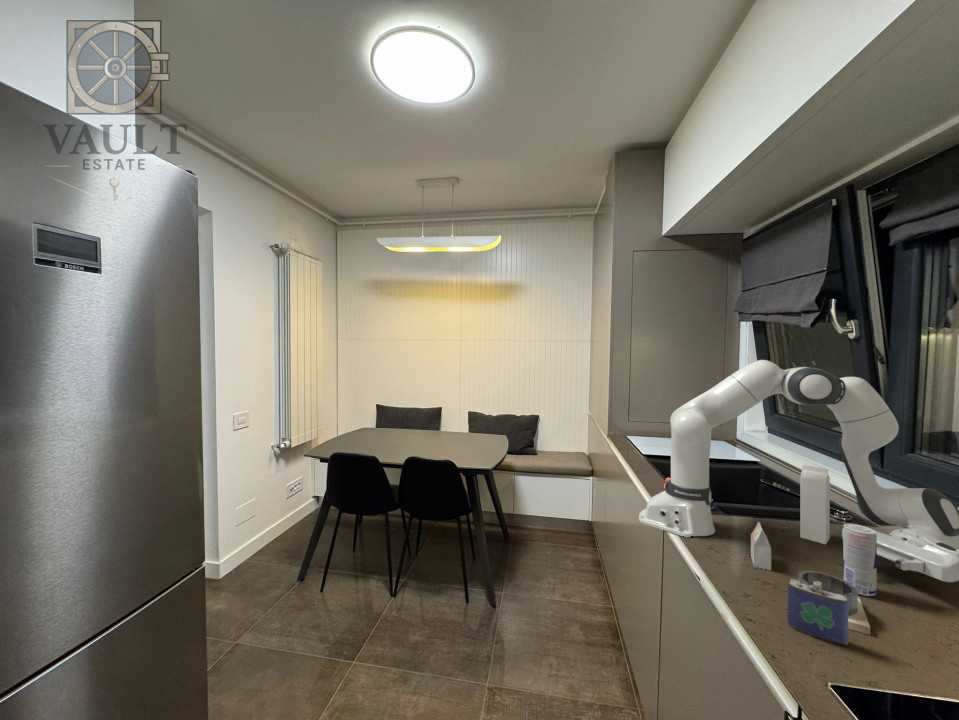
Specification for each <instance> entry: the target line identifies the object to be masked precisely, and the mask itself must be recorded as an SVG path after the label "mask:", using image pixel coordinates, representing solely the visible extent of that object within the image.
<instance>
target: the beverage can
mask: <svg viewBox="0 0 959 720" xmlns="http://www.w3.org/2000/svg"><path fill="white" fill-rule="evenodd" d="M842 530H843V538H842V542H843V543H842V544H843V545H842V546H843V548H842V549H843V550H842V554H843V557H842V559H843V560H842V564H843V565H842V567H843V568H842V569H843V570H842V573H843V574H842V577H843V578H842V580H844V581H846V582H848V583H849V584H851V585H852V586H853V587H855V588H856V591H857V593H858V595H861V596H866V597H873V596H876V595H877V557H878V555H877V537H876V531H877V530H876V531H874V530H875V529H873V528H871V527H868V526H864V525H862V524H861V525H860V524H856V523H844V524H843V528H842Z"/></svg>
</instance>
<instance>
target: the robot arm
mask: <svg viewBox="0 0 959 720" xmlns="http://www.w3.org/2000/svg"><path fill="white" fill-rule="evenodd" d="M773 395H779V396H780V397H782V398H783V399H786V400H788V401H790V402H792V403H793V404H798V405H804V406H811V407H813V406H827V408H829V410H831V412H832V413H833V415H834V417H835V419H836V420H837V422H838V424H839V425H840V428H841V432H842V435H841V437H840V438H839V440H838V448H839V452H840V455H841V458H842V460H843V464H844V466H845V468H846V471H847V473H848V476H849V478H850V479H849V480H850V481H851V484H852V486H853V489H854V492H855V495H856V502H857V505H858V509H859V511H860V512H861V513H862V515H863V516H865V517H864V518H867V520H869V521H870V522H872V523H874V524H875V525H876V526H880V527H891V526H892V527H899V526H900V527H901V526H902V527H907V528H899V529H895V530H892V531H890V533H888V534H887V533H885V532H882V531H878V530H876V529H873V530H874V531H876V537H877V556H879V557H882V558H885V559H887V560H889V561H892V562H893V563H895V565H894V567H896V568H898V569H900V570H903V571H914V572H919V573H921V574H924V575H927V576H929V577H931V578H934V579H935V580H939V581H941V582H945V583H955V582H958V581H959V509H958V506H957V505H956V504H955V503H954V502H953V501H952V500H951V499H949V498H948V496H946V495H944V493H942V492H940V491H938V490H936V489H934V488H931V487H928V488H927V487H926V488H923V487H921V488H920V487H919V488H918V487H917V488H916V487H911V488H910V487H909V488H907V487H906V488H886V487H883V486H882V485H879V484H878V483H879V482H878V481H877V479H876V476H875V474H874V472H873V469H872V465H871V464H870V461H869V455H870V453H872V452H874V451H876V450H878V449H880V448H882V447H885V446H887V445H888V444H889V443H891V442H892V441H893V440H894V439H895V438H896V437H897V435H898V433H899V430H900V429H899V428H900V427H899V423H898V421H897V419H896V417H895V415H894V414H893V412H892V411H891V409H890V407H889V406H888V404H887V403H886V402H885V401H884V399H883V398H882V396H881V395H880V393H878V392H877V391H876V389H875V388H874V387H873V386H871V384H870V383H869V382H868V380H867V381H866V379H864V378H862V377H857V376H844V377H838V376H835V375H833V374H831V373H830V372H828V371H826V370H824V369H821V368H817V367H810V366H798V367H797V366H796V367H792V368H784V369H782V368H781V367H780V366H778V365H777V364H776V363H774V362H772V361H771V360H767V359H766V360H765V359H758V360H755V361H754V362H751V363H750V364H747V365H746V366H743V367H741V368H740V369H738V370H737V371H734V372H733V373H732V374H730V375H729V376H727V377H726V378H724V379H723V380H721V381H720V382H719V383H717V384H715V385H714V386H713V387H711V388H710V389H708V390H706V391H705V392H703V393H701V394H700V395H698V396H696V397H695V398H693V399H691V400H689V401H688V402H686V403H684V404H683V405H681V406H679V407H678V408H677V409H675V410H674V411H673V412H672V413H671V415H670V420H669V421H670V428H671V429H670V431H671V438H670V441H671V442H670V477H666V478H665V480H664V483H663V484H664V485H663V488H664V490H663V491H661V492H659V493H657V494H655V495H653V496H652V497H651V498H649V500H647V504H646V507H645V508H643V509H642V510H641V511H640V513H639V515H638V520H639V522H640V523H641V524H644V525H646V526H649V527H652V528H656V529H659V530H662V531H665V532H669V533H671V534H674V535H677V536H681V537H683V536H684V538H691V536H693V537H707V536H708V537H709V536H712V535H714V534H715V532H716V529H715V526H714V523H713V518H712V512H711V503H712V491H711V490H712V489H711V488H712V487H711V485H710V455H711V445H712V429H714V428H716V427H718V426H720V425H722V424H724V423H726V422H728V421H731V420H734V419H737V417H739V416H741V415H742V414H744V413H745V412H747V411H748V410H750V409H751V408H753V407H754V406H756V405H758V404H759V403H761V402H762V401H764V400H766V398H769V397H771V396H773ZM841 538H842V539H843V529H842V531H841Z"/></svg>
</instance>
